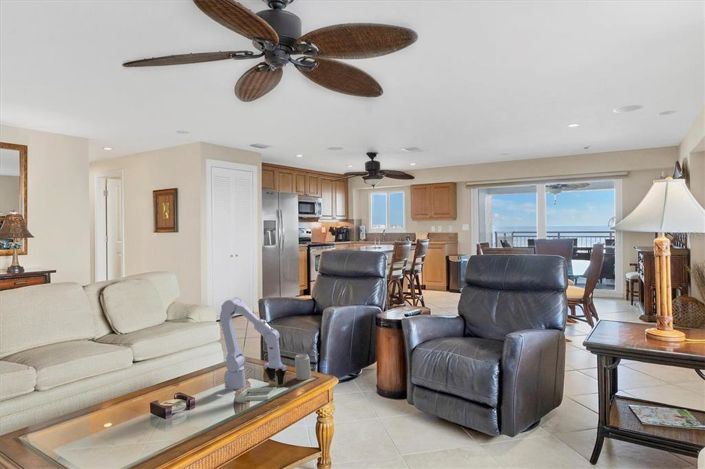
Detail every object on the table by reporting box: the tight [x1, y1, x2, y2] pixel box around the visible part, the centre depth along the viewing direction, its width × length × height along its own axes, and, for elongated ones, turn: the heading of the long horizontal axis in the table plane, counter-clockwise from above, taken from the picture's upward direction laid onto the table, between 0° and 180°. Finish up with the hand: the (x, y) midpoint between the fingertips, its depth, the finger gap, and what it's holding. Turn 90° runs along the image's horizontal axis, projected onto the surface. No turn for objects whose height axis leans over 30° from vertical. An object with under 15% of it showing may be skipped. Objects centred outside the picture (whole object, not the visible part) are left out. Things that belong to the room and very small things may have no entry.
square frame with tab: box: [268, 375, 287, 387], centre depth 208 cm, size 8×5×2 cm
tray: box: [235, 387, 278, 403], centre depth 195 cm, size 15×11×2 cm
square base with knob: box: [266, 376, 288, 389], centre depth 207 cm, size 8×8×4 cm
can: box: [294, 353, 312, 381], centre depth 214 cm, size 8×8×12 cm
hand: (276, 383), depth 207 cm, fingers closed on square frame with tab, 5 cm apart
